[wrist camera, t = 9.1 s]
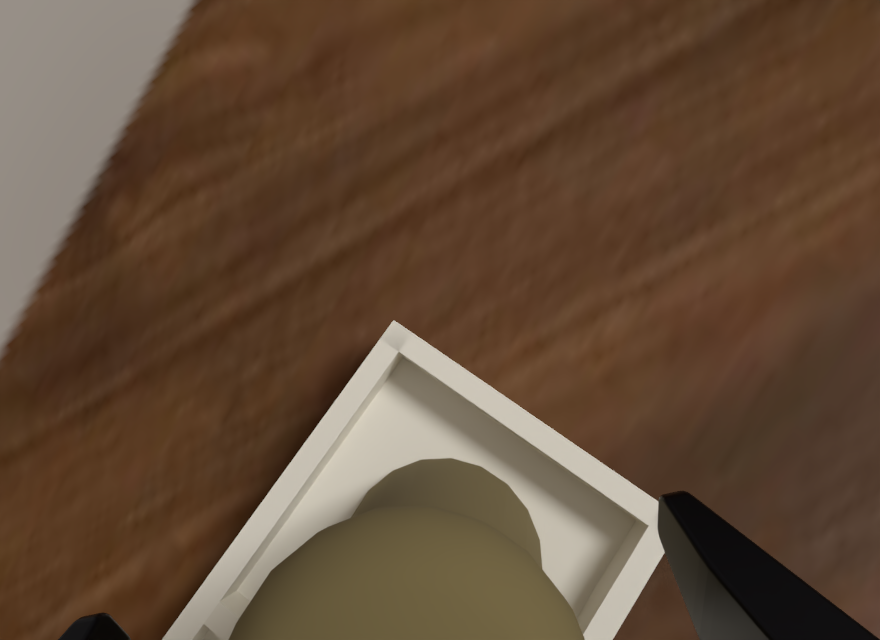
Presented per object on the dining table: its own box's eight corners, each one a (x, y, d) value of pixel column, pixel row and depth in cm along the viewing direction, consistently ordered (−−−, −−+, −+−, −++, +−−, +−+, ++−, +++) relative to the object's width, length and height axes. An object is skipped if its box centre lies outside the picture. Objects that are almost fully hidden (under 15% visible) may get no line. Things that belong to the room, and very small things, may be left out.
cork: (448, 723, 16) (404, 1326, 5) (299, 567, 17) (2, 791, 6) (585, 555, 17) (800, 770, 6) (434, 416, 18) (379, 380, 7)
